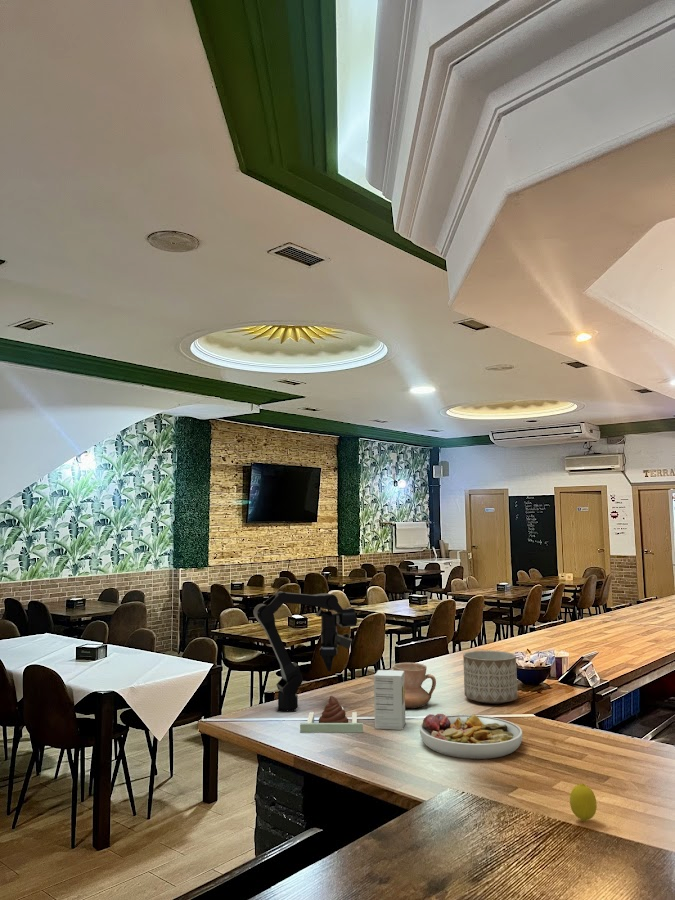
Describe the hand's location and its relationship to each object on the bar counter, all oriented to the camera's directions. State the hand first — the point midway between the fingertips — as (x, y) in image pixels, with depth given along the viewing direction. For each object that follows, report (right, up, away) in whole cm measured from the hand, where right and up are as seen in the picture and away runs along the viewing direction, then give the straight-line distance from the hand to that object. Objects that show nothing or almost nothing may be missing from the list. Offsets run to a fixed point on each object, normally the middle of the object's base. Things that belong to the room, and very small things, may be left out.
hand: (329, 671), depth 250 cm
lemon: (+57, 0, -101) cm, 116 cm away
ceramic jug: (+30, -12, -3) cm, 32 cm away
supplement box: (+20, -9, -28) cm, 36 cm away
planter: (+60, -12, +3) cm, 62 cm away
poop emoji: (+2, -9, -26) cm, 28 cm away
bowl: (+43, -7, -48) cm, 65 cm away
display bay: (+1, -9, -27) cm, 28 cm away
